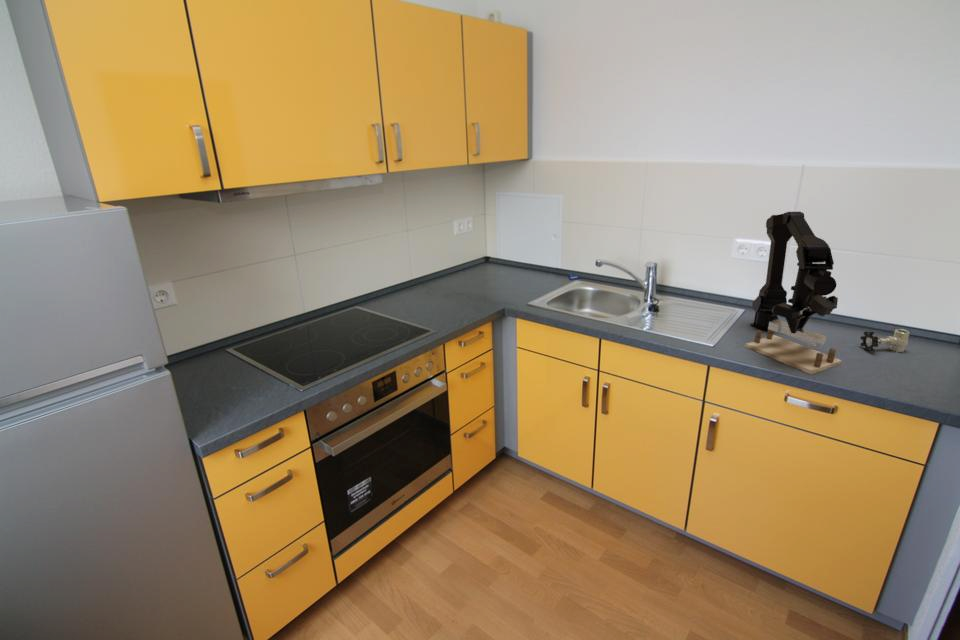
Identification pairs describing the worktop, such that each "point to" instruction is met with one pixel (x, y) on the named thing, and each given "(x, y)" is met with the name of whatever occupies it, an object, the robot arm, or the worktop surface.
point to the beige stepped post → (797, 333)
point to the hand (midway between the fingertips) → (795, 332)
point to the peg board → (793, 353)
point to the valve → (887, 340)
